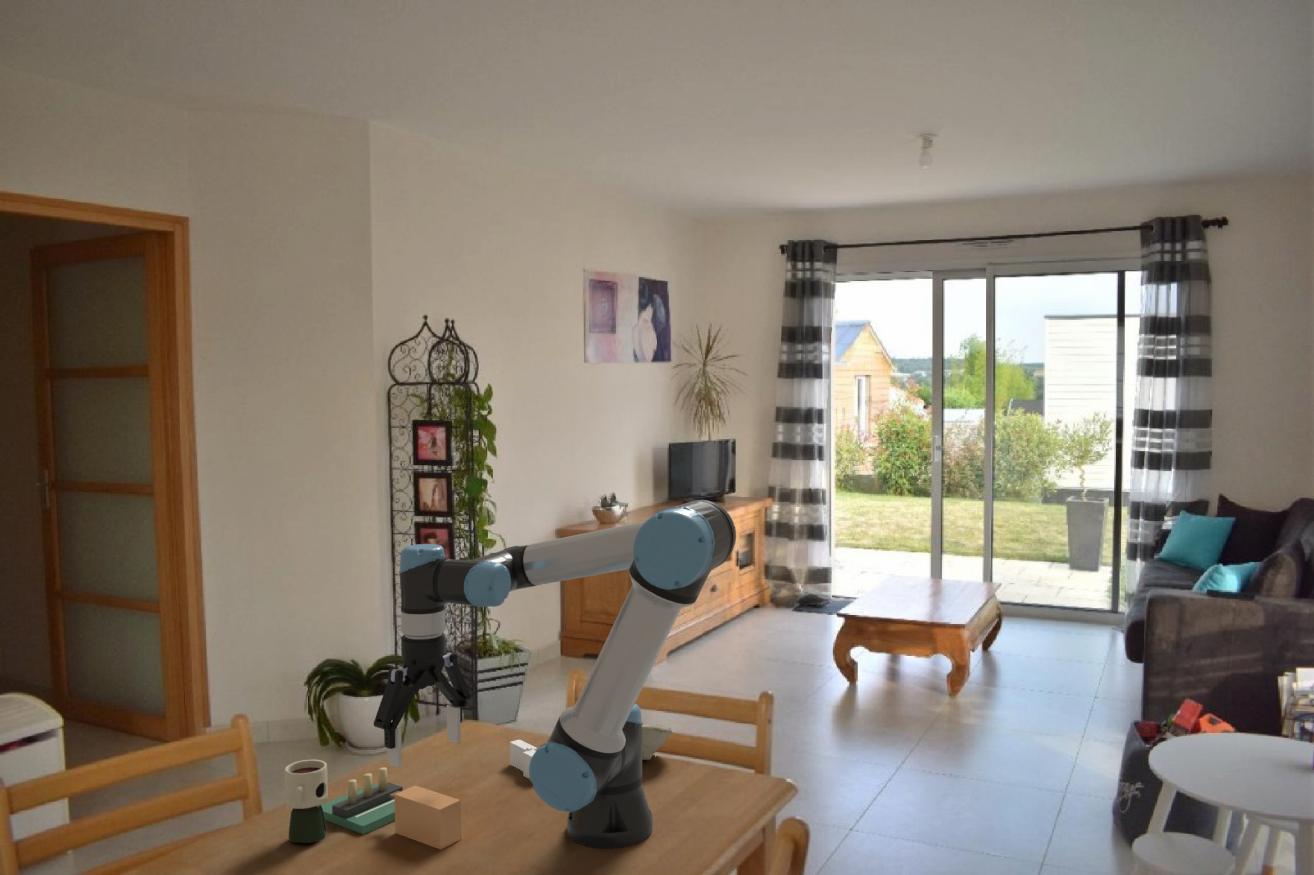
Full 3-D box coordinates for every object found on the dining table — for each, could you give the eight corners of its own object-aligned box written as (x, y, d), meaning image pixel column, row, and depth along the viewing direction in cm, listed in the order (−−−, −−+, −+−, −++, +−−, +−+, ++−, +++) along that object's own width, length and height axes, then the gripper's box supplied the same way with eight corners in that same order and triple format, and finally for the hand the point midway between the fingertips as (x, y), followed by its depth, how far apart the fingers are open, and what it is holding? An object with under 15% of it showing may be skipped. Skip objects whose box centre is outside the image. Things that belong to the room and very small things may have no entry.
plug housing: (404, 819, 189) (404, 781, 189) (461, 839, 181) (460, 800, 180) (384, 828, 185) (383, 790, 185) (440, 849, 177) (439, 809, 176)
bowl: (680, 751, 222) (680, 705, 222) (663, 775, 209) (662, 726, 208) (614, 745, 226) (613, 700, 226) (593, 768, 213) (592, 720, 212)
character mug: (321, 852, 176) (319, 777, 176) (278, 854, 176) (276, 779, 175) (335, 825, 187) (333, 754, 186) (295, 827, 186) (292, 756, 186)
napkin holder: (502, 762, 218) (502, 735, 218) (556, 761, 218) (556, 734, 218) (493, 790, 203) (493, 762, 203) (551, 789, 204) (551, 761, 203)
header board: (422, 808, 194) (421, 771, 194) (363, 834, 183) (362, 795, 183) (373, 791, 202) (372, 756, 202) (314, 815, 191) (313, 778, 191)
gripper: (460, 617, 192) (462, 729, 194) (350, 646, 172) (353, 771, 173) (489, 622, 188) (491, 737, 189) (380, 653, 168) (382, 781, 169)
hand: (425, 753), depth 181 cm, fingers open, 13 cm apart
